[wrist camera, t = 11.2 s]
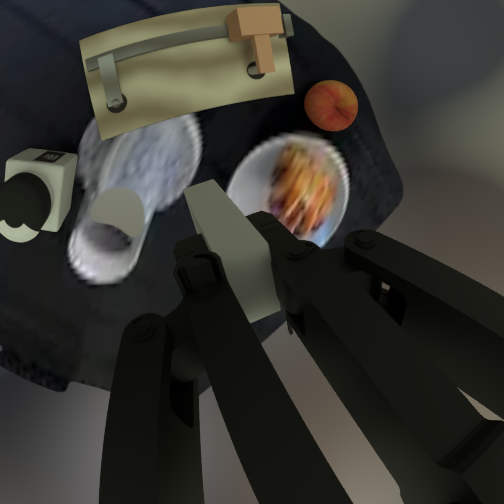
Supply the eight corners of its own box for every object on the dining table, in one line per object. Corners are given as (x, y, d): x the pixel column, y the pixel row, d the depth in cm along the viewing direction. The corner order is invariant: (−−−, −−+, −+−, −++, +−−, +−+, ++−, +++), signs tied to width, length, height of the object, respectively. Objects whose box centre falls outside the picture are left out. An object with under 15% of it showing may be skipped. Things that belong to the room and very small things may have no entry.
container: (28, 147, 28) (-16, 171, 17) (78, 153, 31) (51, 180, 21) (23, 202, 31) (-15, 245, 20) (70, 209, 34) (46, 256, 24)
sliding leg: (223, 19, 28) (236, 7, 23) (260, 16, 29) (278, 6, 24) (234, 77, 32) (249, 74, 28) (270, 72, 33) (290, 70, 29)
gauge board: (81, 42, 24) (75, 36, 21) (275, 5, 29) (287, -2, 26) (103, 139, 32) (99, 143, 29) (290, 93, 37) (302, 94, 34)
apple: (330, 76, 37) (364, 77, 31) (339, 120, 42) (372, 128, 35) (288, 85, 36) (319, 85, 30) (300, 132, 41) (330, 141, 34)
